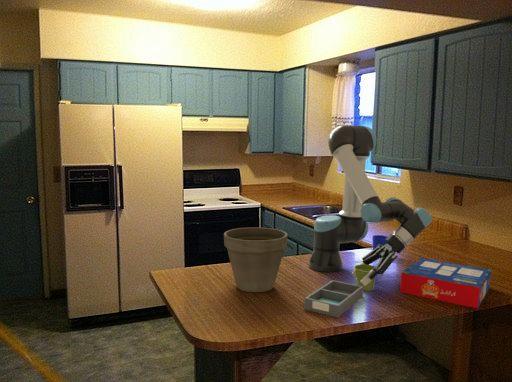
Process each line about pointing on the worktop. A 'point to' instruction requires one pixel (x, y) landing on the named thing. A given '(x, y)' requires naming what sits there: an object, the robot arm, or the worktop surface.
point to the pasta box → (446, 282)
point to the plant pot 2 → (361, 273)
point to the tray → (333, 298)
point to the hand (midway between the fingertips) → (358, 279)
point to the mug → (378, 240)
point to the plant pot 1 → (255, 256)
